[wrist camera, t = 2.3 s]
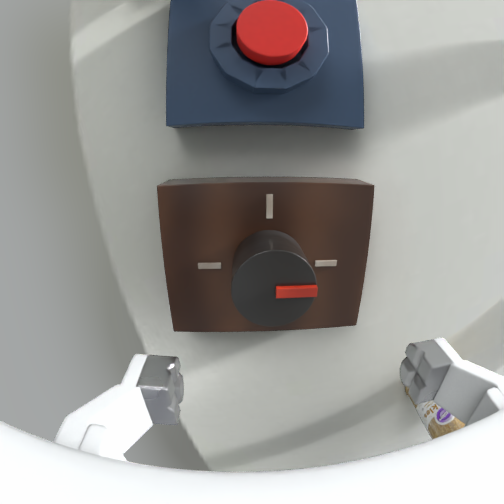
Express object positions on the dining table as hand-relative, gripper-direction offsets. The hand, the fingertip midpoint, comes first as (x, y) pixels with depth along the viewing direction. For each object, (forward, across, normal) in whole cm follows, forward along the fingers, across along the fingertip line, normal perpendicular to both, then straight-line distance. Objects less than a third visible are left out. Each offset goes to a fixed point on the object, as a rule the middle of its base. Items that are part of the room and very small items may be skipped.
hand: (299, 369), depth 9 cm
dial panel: (+12, 0, 0) cm, 13 cm away
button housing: (+12, 0, -14) cm, 18 cm away
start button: (+9, 0, -13) cm, 16 cm away
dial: (+9, 0, 0) cm, 9 cm away
